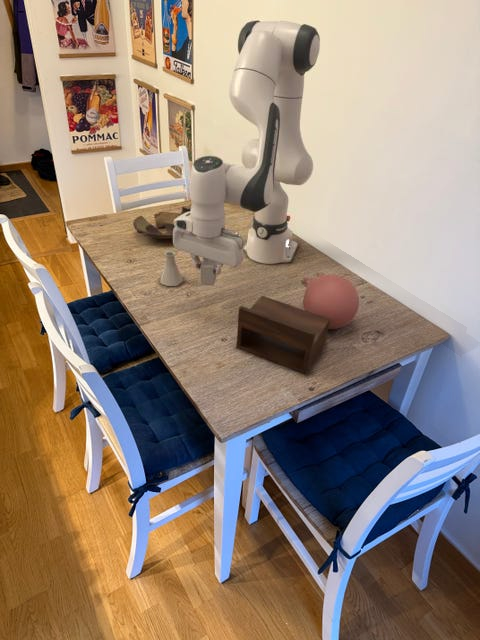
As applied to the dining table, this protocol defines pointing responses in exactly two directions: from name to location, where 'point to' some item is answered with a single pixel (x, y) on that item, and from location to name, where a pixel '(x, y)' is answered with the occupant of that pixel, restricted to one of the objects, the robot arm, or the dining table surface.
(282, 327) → the rack
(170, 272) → the flask
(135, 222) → the broken brown bowl
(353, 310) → the balloon
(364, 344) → the dining table surface
